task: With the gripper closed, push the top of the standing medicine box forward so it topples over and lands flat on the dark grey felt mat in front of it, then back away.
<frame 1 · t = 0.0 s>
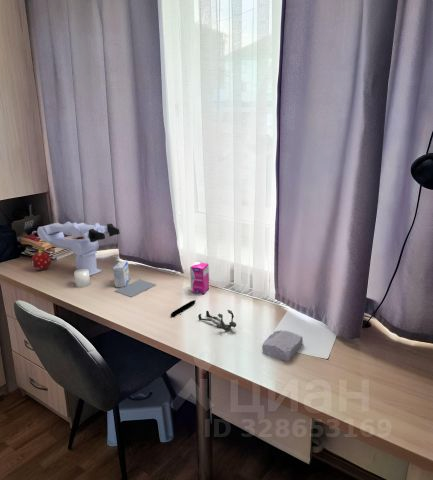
hand: (111, 234, 166), 22 cm above the table, tool horizontal, fingers open, 7 cm apart
medicine box: (122, 283, 170), on the table, touching felt mat
white round lump: (83, 284, 170), on the table
felt mat: (135, 288, 166), on the table
stone block: (281, 349, 122), on the table
pen: (183, 310, 147), on the table
zombie figurine: (218, 326, 136), on the table
christmas ornament: (42, 269, 188), on the table
supplement box: (200, 291, 162), on the table
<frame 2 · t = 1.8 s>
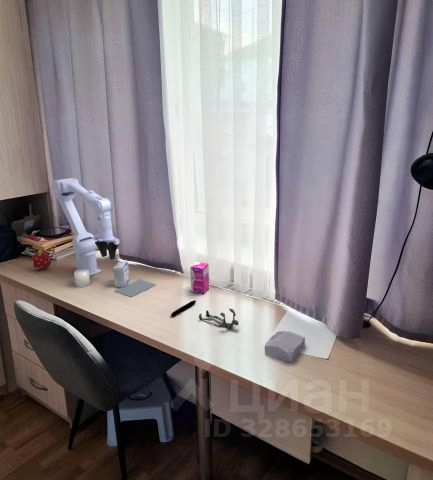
hand: (108, 257, 171), 10 cm above the table, tool pointing down, fingers open, 5 cm apart
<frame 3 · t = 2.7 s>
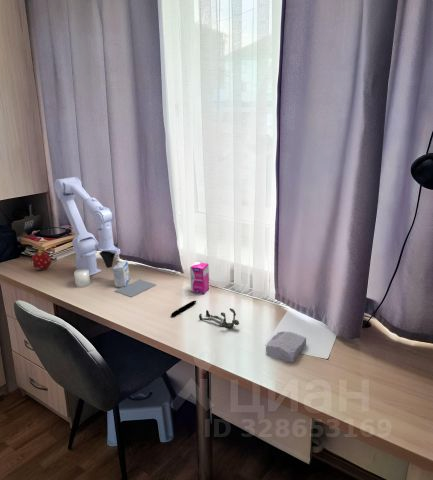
hand: (109, 266, 173), 6 cm above the table, tool pointing down, fingers closed
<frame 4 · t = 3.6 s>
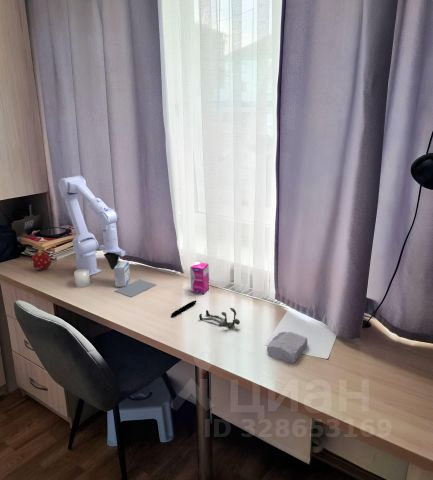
hand: (113, 268, 171), 6 cm above the table, tool pointing down, fingers closed
medicine box: (122, 283, 170), on the table, touching felt mat, gripper
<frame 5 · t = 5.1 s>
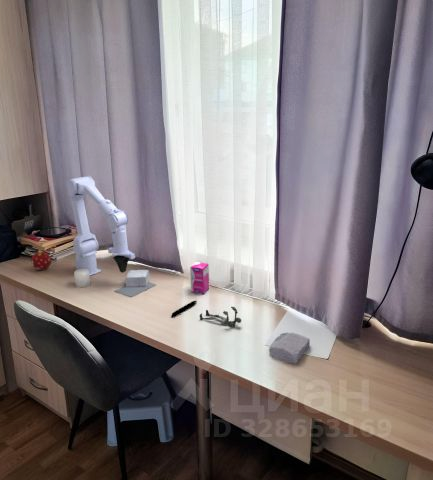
hand: (123, 271, 168), 6 cm above the table, tool pointing down, fingers closed
medicine box: (127, 278, 169), point 3 cm above the table, touching felt mat
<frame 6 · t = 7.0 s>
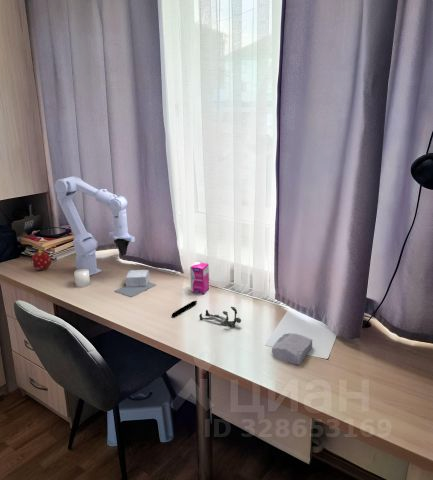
hand: (123, 254, 174), 10 cm above the table, tool pointing down, fingers closed
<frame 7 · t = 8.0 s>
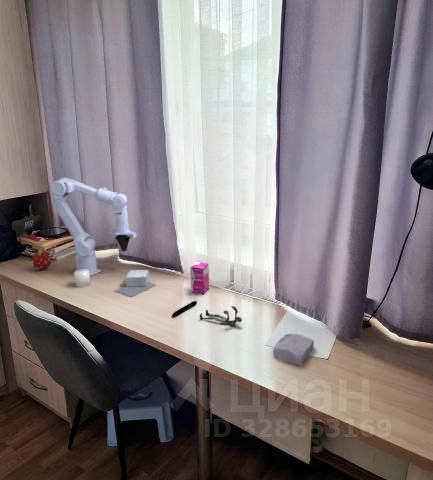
hand: (124, 250, 180), 10 cm above the table, tool pointing down, fingers closed
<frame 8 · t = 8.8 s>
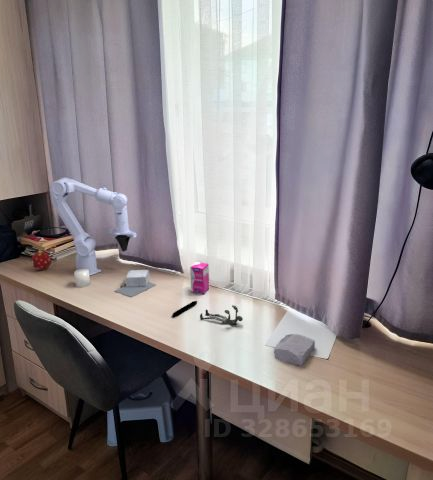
hand: (124, 250, 180), 10 cm above the table, tool pointing down, fingers closed
at the end: medicine box tilted 90°; medicine box inside the target area (3.0 cm from its centre), point 2.5 cm above the table; the gripper is holding nothing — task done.
